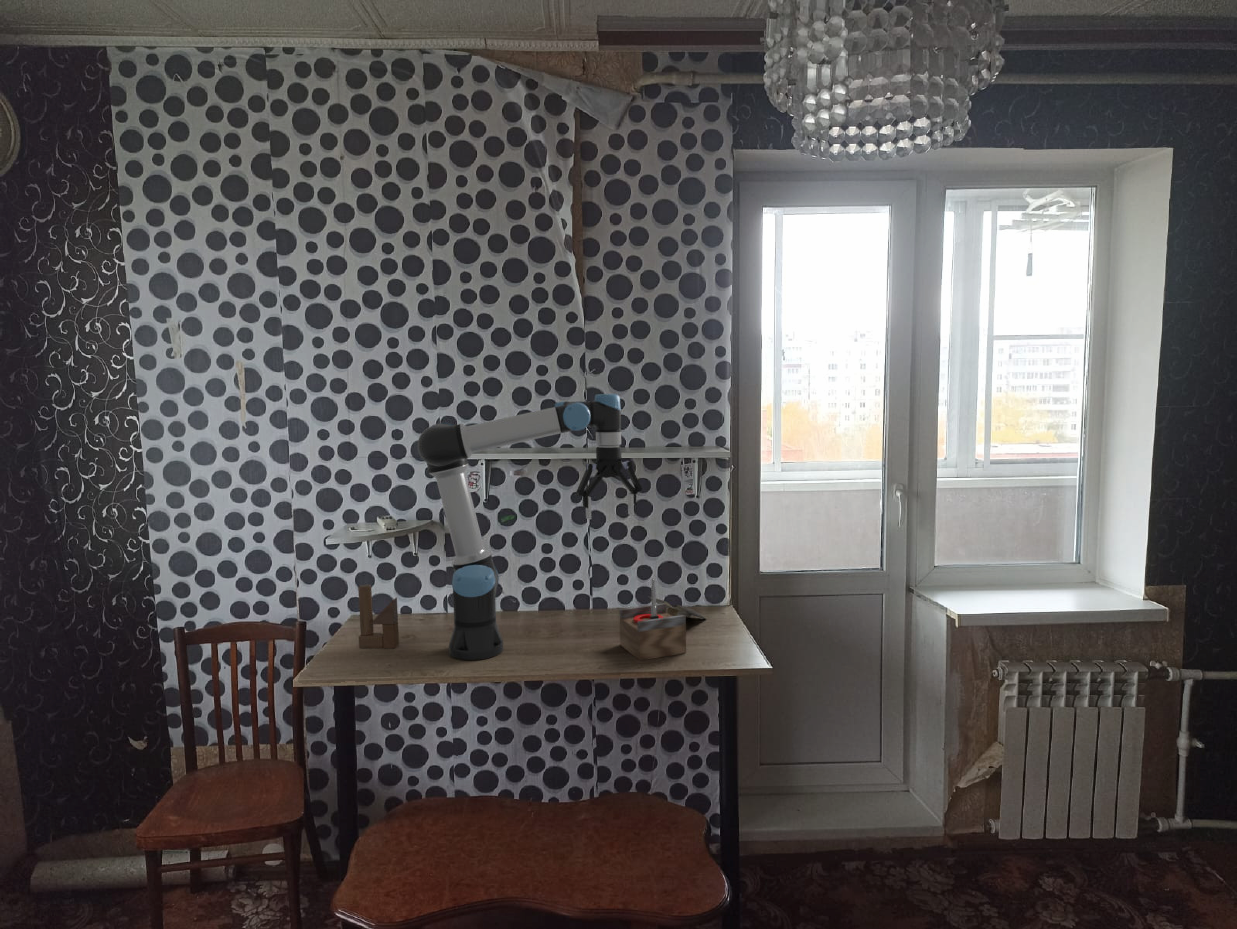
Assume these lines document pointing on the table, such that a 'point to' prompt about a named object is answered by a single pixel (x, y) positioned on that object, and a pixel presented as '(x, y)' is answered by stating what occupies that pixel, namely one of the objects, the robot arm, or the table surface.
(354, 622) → the table surface
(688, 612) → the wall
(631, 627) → the open wooden crate
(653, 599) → the tow hook
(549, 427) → the robot arm
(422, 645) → the table surface
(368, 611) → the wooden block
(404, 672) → the table surface
